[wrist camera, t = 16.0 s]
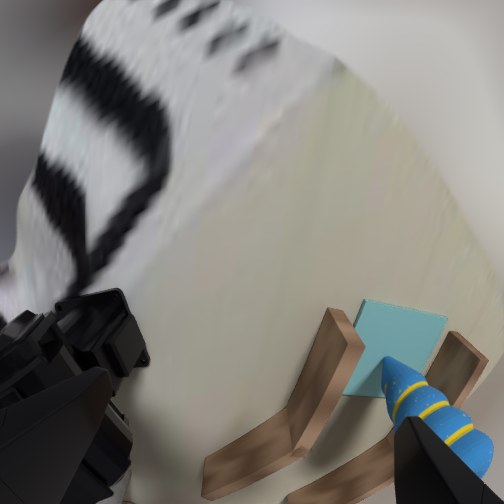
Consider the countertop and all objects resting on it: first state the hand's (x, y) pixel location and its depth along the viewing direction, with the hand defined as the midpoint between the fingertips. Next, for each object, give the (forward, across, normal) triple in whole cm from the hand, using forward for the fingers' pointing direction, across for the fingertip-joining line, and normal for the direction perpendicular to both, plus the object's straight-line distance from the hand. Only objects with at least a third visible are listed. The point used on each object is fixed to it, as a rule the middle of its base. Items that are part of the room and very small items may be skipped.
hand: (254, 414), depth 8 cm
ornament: (+14, -10, +8) cm, 19 cm away
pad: (+14, -10, +7) cm, 19 cm away
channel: (+13, -7, +16) cm, 22 cm away
